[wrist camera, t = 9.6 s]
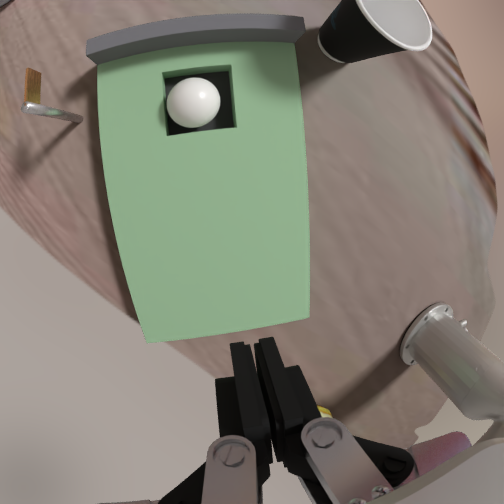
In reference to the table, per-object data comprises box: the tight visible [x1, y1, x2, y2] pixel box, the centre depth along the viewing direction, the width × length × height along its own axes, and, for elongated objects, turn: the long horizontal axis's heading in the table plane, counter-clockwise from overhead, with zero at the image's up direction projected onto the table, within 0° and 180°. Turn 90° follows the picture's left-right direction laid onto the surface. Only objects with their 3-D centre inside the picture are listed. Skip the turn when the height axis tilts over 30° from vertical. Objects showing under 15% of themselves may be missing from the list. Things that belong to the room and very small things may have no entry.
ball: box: [167, 78, 220, 128], centre depth 20 cm, size 4×4×4 cm
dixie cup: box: [318, 0, 432, 63], centre depth 17 cm, size 8×8×11 cm
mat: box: [86, 14, 310, 343], centre depth 23 cm, size 18×30×5 cm, turn 5°
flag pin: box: [21, 68, 83, 123], centre depth 15 cm, size 1×4×10 cm, turn 6°
